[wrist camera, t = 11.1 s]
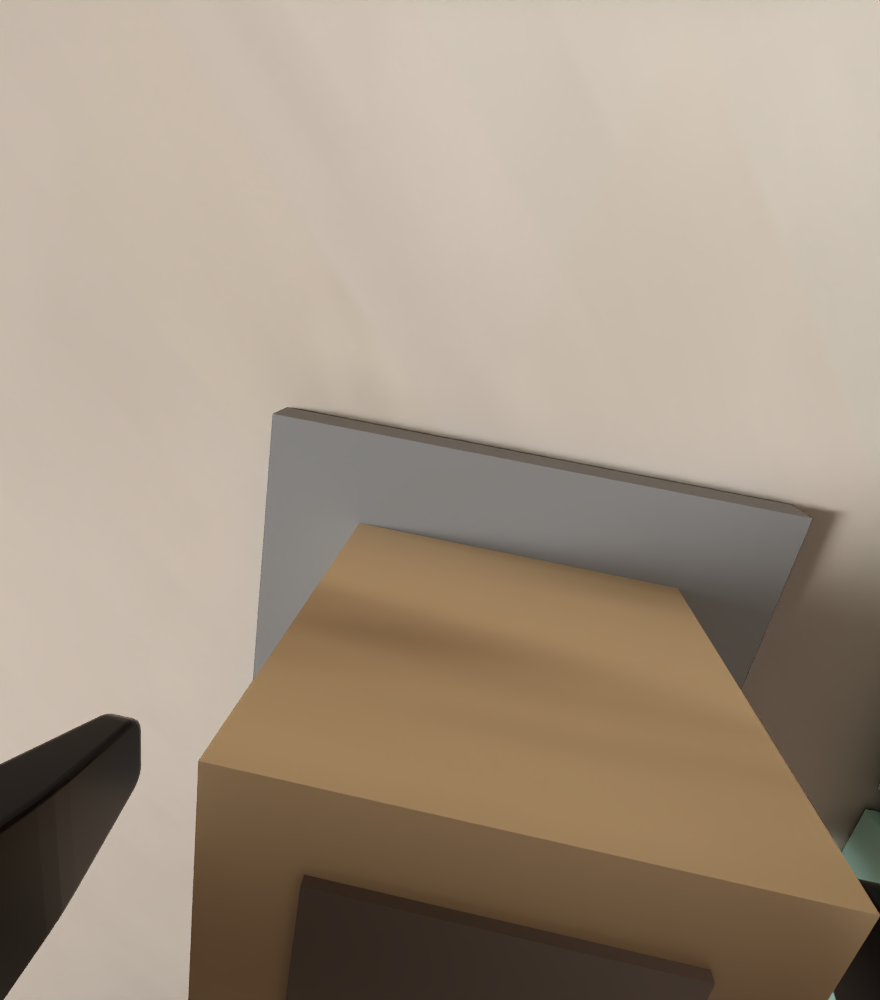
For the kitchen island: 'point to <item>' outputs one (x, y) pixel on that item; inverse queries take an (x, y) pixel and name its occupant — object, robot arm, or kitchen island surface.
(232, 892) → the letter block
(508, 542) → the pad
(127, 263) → the kitchen island surface
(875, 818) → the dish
